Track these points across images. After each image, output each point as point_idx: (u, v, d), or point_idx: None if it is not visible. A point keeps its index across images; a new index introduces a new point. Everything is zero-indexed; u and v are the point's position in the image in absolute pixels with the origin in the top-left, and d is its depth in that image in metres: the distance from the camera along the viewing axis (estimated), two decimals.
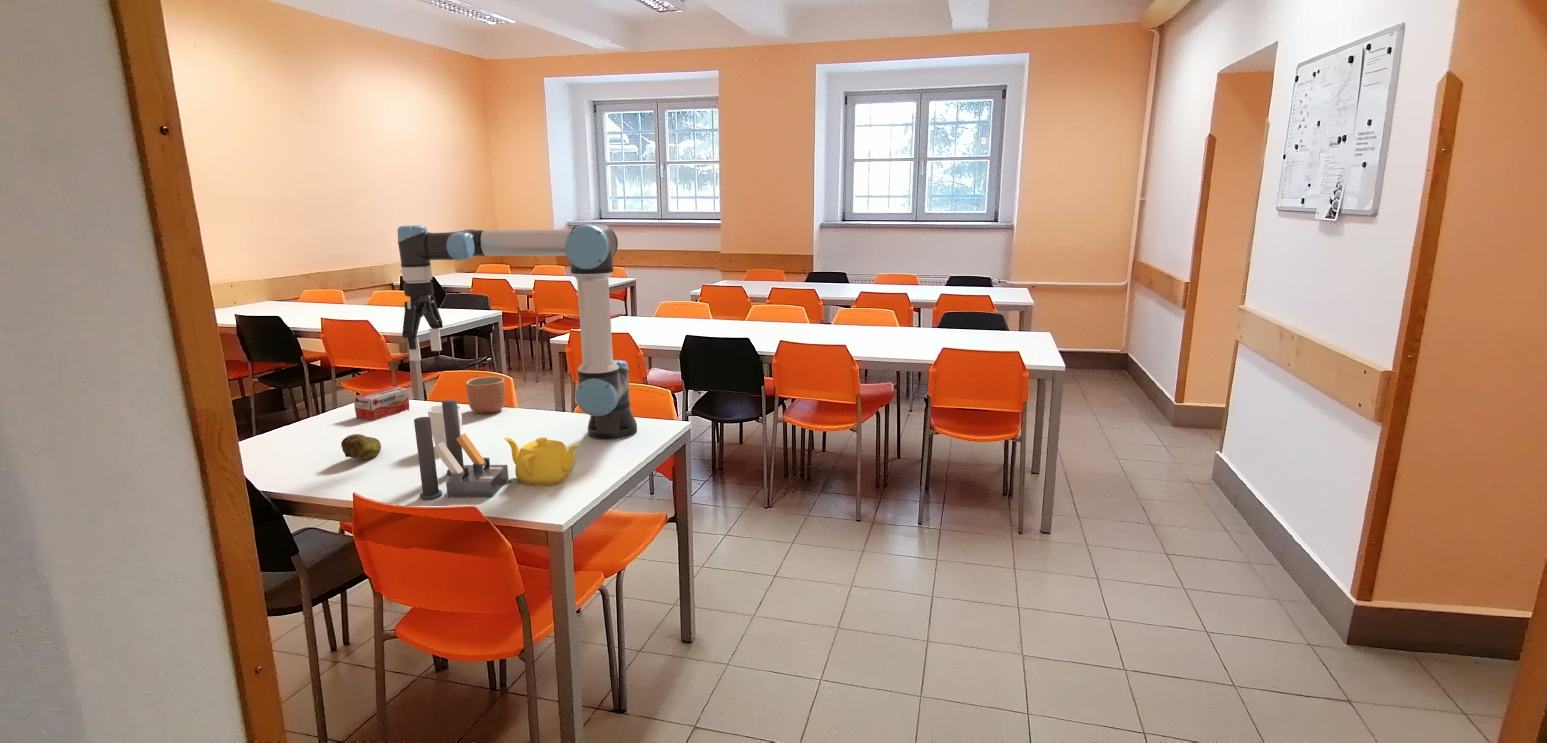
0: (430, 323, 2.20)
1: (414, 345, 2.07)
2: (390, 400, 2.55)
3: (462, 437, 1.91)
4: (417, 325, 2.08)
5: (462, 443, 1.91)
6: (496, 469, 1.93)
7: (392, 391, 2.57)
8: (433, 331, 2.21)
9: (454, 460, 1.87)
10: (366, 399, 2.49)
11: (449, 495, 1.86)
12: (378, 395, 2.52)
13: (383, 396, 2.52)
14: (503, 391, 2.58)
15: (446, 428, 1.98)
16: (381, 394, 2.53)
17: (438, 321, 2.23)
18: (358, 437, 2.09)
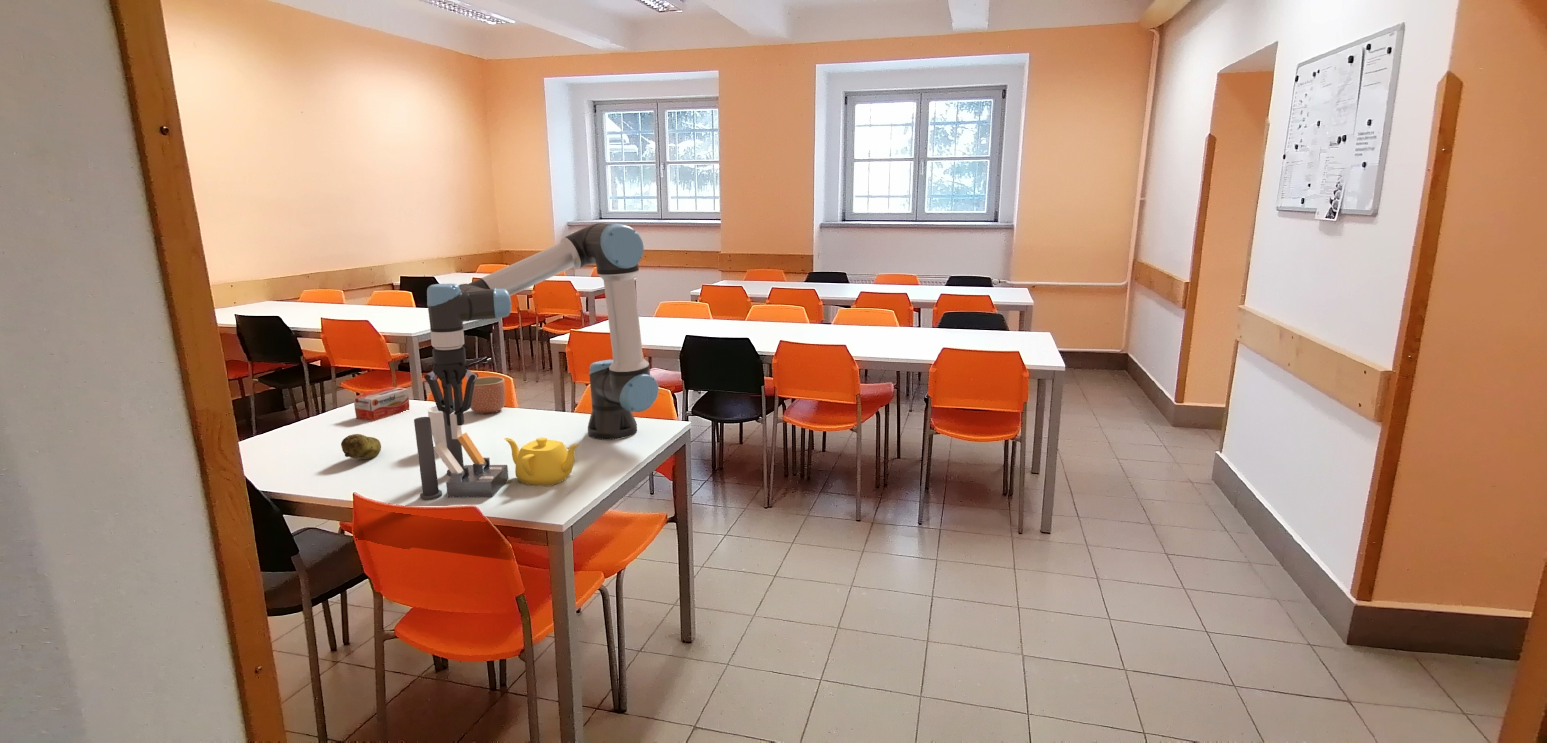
0: None
1: (448, 421, 1.90)
2: (390, 400, 2.54)
3: (463, 436, 1.91)
4: (445, 399, 1.88)
5: (463, 442, 1.91)
6: (496, 469, 1.93)
7: (392, 391, 2.57)
8: None
9: (454, 460, 1.87)
10: (366, 399, 2.48)
11: (449, 495, 1.86)
12: (378, 395, 2.52)
13: (383, 397, 2.52)
14: (503, 391, 2.58)
15: (446, 428, 1.98)
16: (381, 394, 2.53)
17: None
18: (358, 437, 2.09)
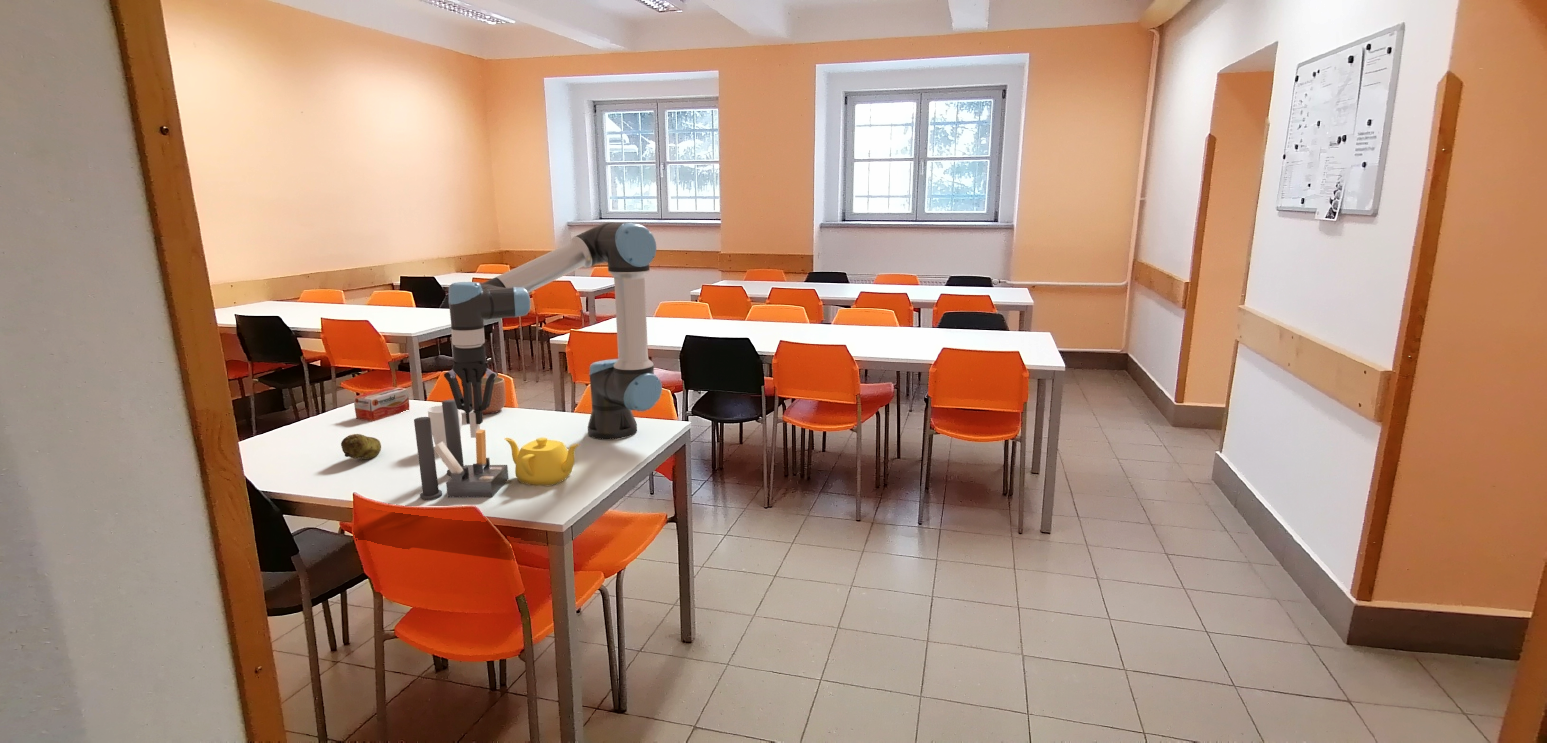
0: None
1: (467, 419, 1.90)
2: (390, 400, 2.54)
3: (481, 434, 1.91)
4: (465, 397, 1.88)
5: (478, 439, 1.91)
6: (496, 469, 1.93)
7: (392, 391, 2.56)
8: None
9: (454, 460, 1.87)
10: (366, 399, 2.48)
11: (449, 495, 1.86)
12: (378, 395, 2.51)
13: (383, 397, 2.52)
14: (503, 391, 2.58)
15: (446, 428, 1.98)
16: (381, 394, 2.53)
17: None
18: (358, 437, 2.09)
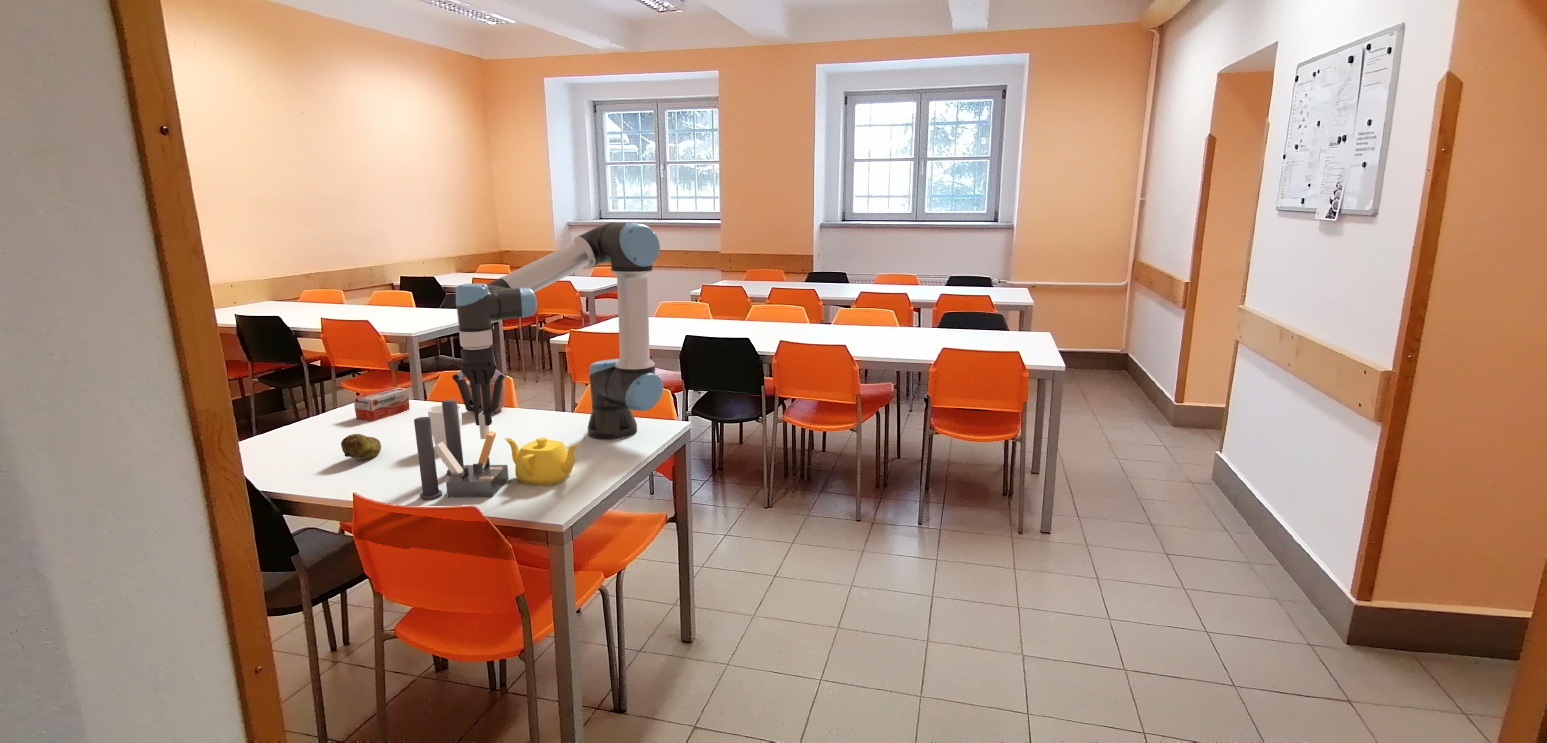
0: None
1: (477, 421, 1.90)
2: (390, 400, 2.54)
3: (492, 437, 1.91)
4: (474, 399, 1.88)
5: (487, 441, 1.91)
6: (496, 469, 1.93)
7: (392, 391, 2.56)
8: None
9: (454, 460, 1.87)
10: (366, 399, 2.48)
11: (449, 495, 1.86)
12: (378, 395, 2.51)
13: (383, 397, 2.52)
14: (503, 391, 2.58)
15: (446, 428, 1.98)
16: (381, 394, 2.53)
17: None
18: (358, 437, 2.09)
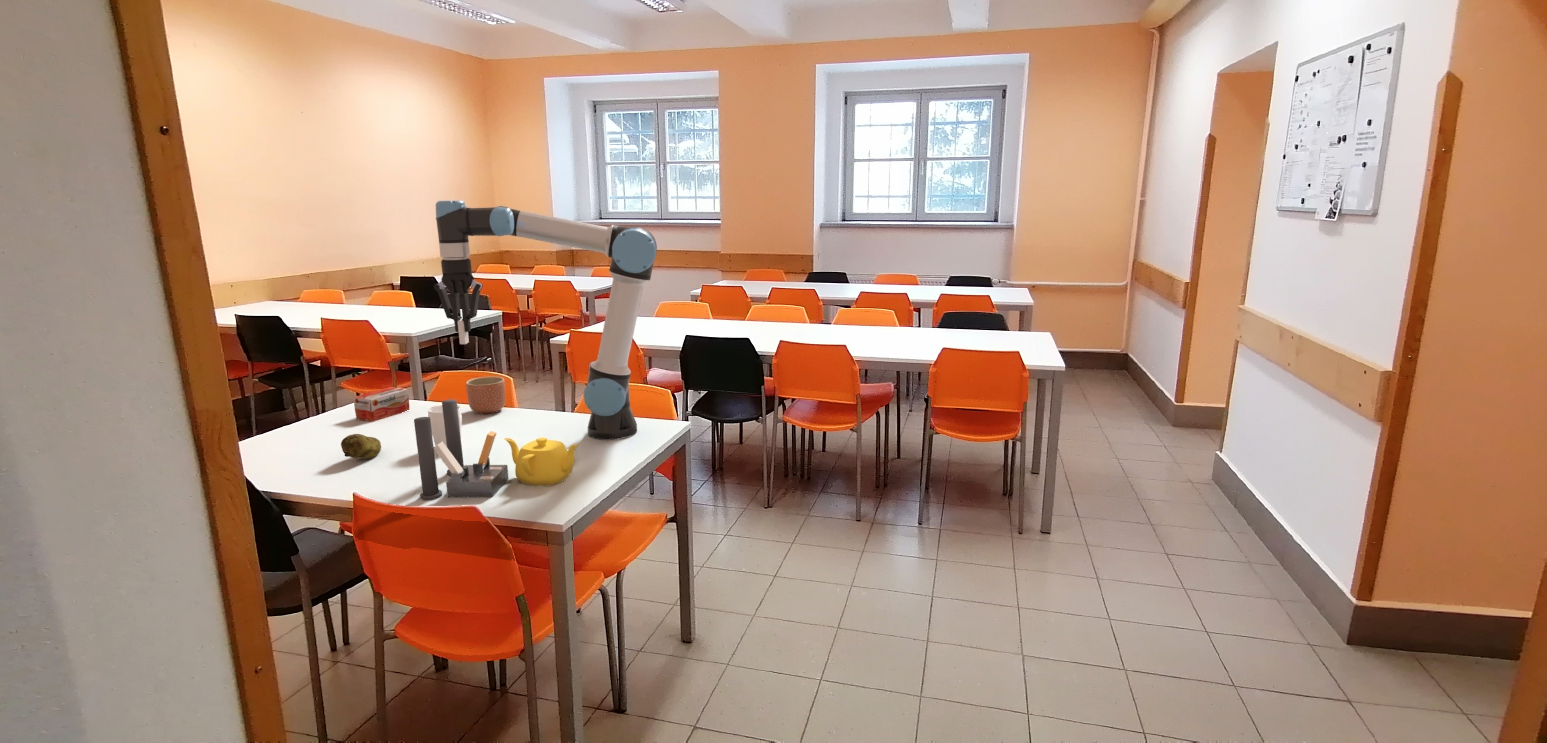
0: None
1: (456, 328, 2.09)
2: (390, 401, 2.54)
3: (492, 437, 1.91)
4: (453, 307, 2.07)
5: (487, 441, 1.91)
6: (496, 469, 1.93)
7: (392, 392, 2.56)
8: None
9: (454, 460, 1.87)
10: (366, 400, 2.48)
11: (449, 495, 1.86)
12: (378, 396, 2.51)
13: (383, 397, 2.52)
14: (503, 391, 2.58)
15: (446, 428, 1.98)
16: (381, 395, 2.52)
17: None
18: (358, 437, 2.09)
